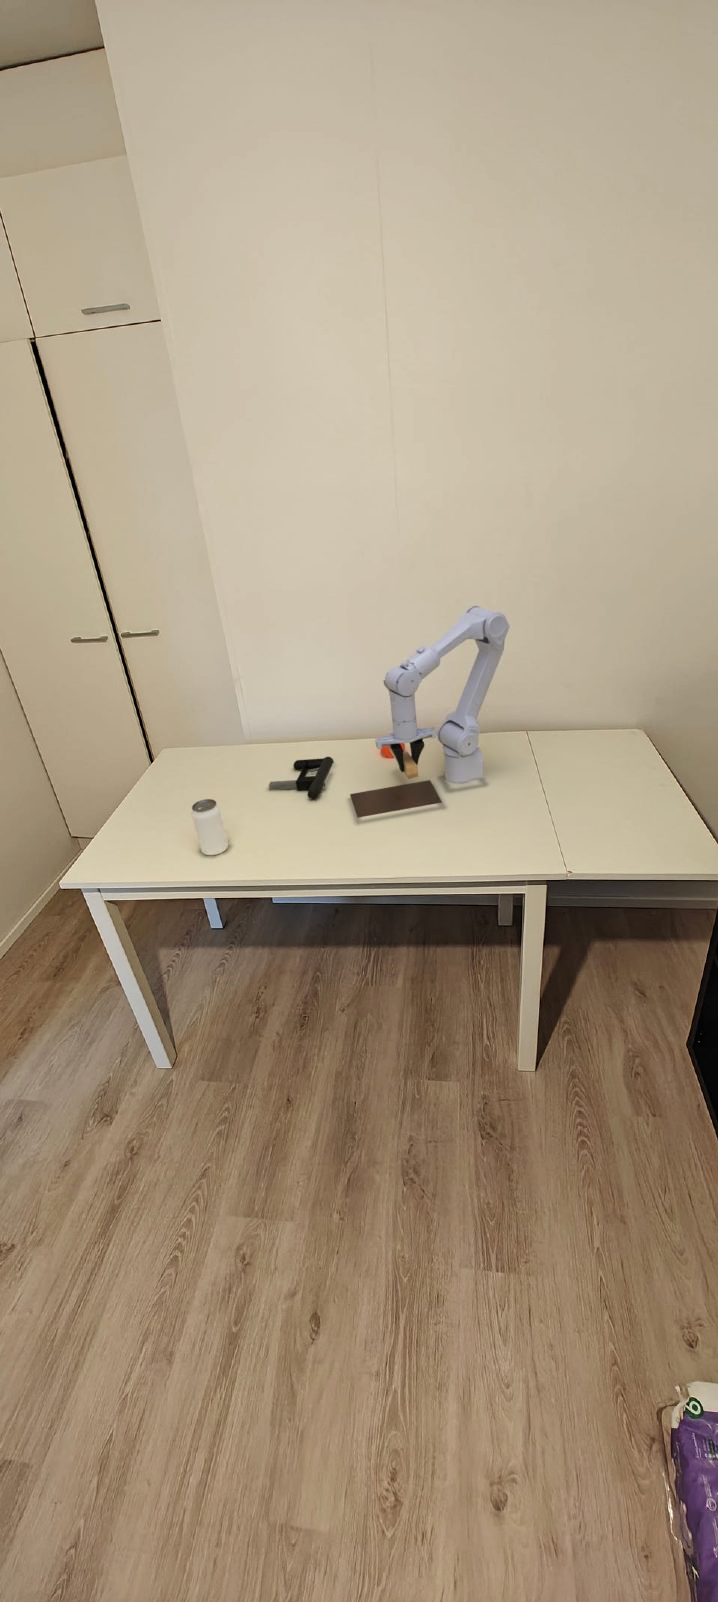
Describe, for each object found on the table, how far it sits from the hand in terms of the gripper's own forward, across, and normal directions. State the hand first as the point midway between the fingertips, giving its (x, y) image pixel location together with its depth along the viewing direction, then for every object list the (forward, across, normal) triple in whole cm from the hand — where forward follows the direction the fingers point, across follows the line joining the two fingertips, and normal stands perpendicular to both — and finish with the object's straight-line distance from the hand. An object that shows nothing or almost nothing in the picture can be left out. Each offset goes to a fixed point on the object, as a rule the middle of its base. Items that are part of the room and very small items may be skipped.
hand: (408, 768), depth 173 cm
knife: (+1, 0, -5) cm, 5 cm away
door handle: (+9, +24, -21) cm, 34 cm away
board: (+9, +4, 0) cm, 10 cm away
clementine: (+9, -3, -25) cm, 27 cm away
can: (+9, +49, +3) cm, 50 cm away
